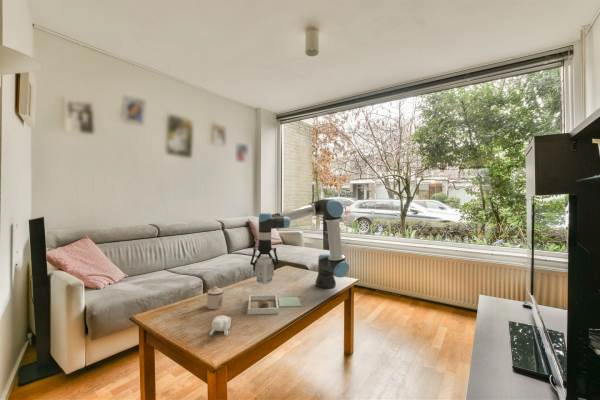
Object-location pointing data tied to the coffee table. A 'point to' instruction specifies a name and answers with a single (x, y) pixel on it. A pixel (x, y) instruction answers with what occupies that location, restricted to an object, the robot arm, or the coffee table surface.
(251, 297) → the parts tray
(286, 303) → the mat
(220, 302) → the teacup with lid
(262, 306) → the walnut block
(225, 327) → the white animal figurine
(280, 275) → the coffee table surface
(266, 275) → the supplement tub
